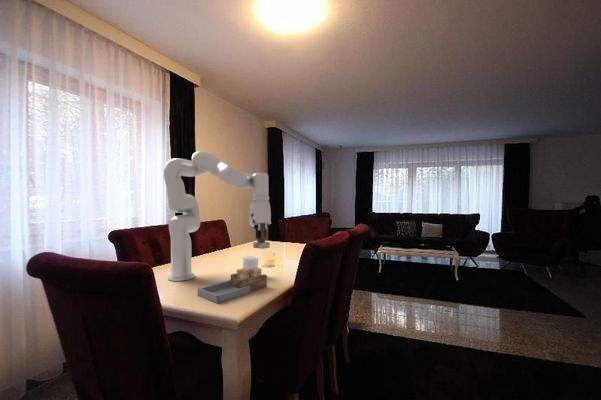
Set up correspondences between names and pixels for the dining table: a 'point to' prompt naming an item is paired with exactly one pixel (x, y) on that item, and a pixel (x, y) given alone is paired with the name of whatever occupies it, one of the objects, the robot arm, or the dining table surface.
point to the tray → (222, 292)
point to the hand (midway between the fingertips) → (260, 237)
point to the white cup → (250, 262)
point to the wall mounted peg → (261, 242)
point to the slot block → (250, 282)
